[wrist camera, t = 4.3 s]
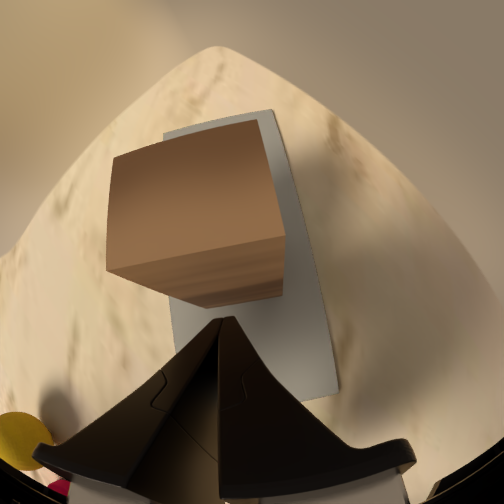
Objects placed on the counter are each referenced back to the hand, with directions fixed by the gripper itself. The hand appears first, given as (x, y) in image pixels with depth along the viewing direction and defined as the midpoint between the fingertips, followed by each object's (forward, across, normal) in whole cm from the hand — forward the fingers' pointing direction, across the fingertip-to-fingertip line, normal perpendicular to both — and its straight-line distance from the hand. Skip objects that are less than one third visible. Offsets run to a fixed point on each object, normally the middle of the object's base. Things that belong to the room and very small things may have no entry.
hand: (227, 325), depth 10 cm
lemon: (-1, -21, -12) cm, 24 cm away
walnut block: (+8, 0, -2) cm, 8 cm away
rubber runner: (+10, 0, -1) cm, 10 cm away
